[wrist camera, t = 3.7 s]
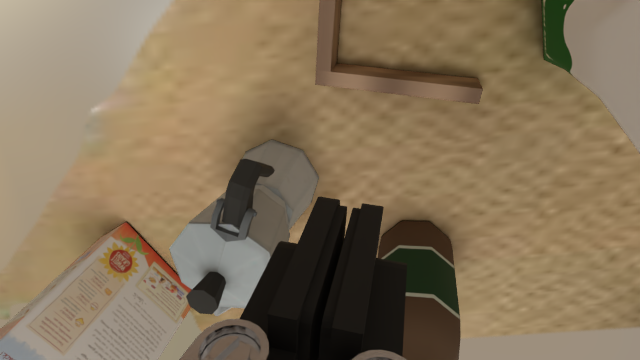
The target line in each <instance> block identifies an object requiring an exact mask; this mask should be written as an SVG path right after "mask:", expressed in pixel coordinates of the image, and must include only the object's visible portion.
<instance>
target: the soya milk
mask: <svg viewBox="0 0 640 360" xmlns="http://www.w3.org/2000/svg"><path fill="white" fill-rule="evenodd" d="M541 3H542V27H543V52H544V60H546V61H548V62H550V63H552V64H554V65H556V66H559V67H561V68H563V69H565V70H566V71H567V72H569V73H570V74H571V75H572V76H574V77H575V78H576V79H577V80H579V81H580V82H581V83H582V84H583V85H585V86H586V87H587V88H588V89H590V90H591V91H592V92H593V93H594V94H596V95H597V96H598V97H599V98H600V100H601V101H602V102H603V104H604V105H605V106H606V108H607V109H608V110H609V112H610V113H611V114H612V116H613V117H614V118H615V120H616V121H617V123H618V124H619V125H620V127H621V128H622V129H623V131H624V132H625V134H626V135H627V136H628V138H629V139H630V140H631V142H632V143H633V145H634V146H635V148H636V149H637V151H638V152H639V153H640V0H541Z"/></svg>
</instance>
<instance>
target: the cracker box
mask: <svg viewBox="0 0 640 360" xmlns="http://www.w3.org/2000/svg"><path fill="white" fill-rule="evenodd" d="M190 291H191V289H190V288H189V287H187V286H186V285H185V284H183V283H182V282H181V279H180V277H179V276H178V275H177V274H176V273H175V272H174V271H173V270H172V269H171V268H170V267H169V266H168V265H167V264H166V263H165V262H164V261H163V260H162V259H161V258H160V257H159V256H158V255H157V254H156V252H155V251H154V250H153V249H152V248H151V247H150V246H149V245H148V244H147V243H146V242H145V241H144V240H143V239H142V238H141V237H140V236H139V235H138V234H137V233H136V232H135V231H134V230H133V229H132V228H131V227H130V225H129V224H127V223H123V224H122V225H120V226H118V227H117V228H115V229H114V230H112V231H110V232H109V233H107V234H105V235H104V236H102V237H101V238H100V239H98V240H97V241H96V242H95V243H94V244H93V245H92V246H91V247H90V248H89V249H88V250H86V251H85V252H84V253H83V254H82V255H81V256H80V257H79V258H78V259H76V260H75V261H74V262H73V263H72V264H71V265H70V266H69V267H68V268H67V269H66V270H64V271H63V272H62V273H61V274H60V275H59V276H58V277H57V278H56V279H55V280H53V281H52V282H51V283H50V284H49V285H48V286H47V287H46V288H45V289H44V290H43V291H42V292H40V293H39V294H38V295H37V296H36V297H35V298H34V299H33V300H32V301H31V302H30V303H28V304H27V305H26V306H25V307H24V308H23V309H22V310H21V311H20V312H18V313H17V314H16V315H15V316H14V317H13V318H12V319H11V320H10V321H9V322H7V323H6V324H5V325H4V326H3V327H2V328H1V329H0V360H158V359H159V357H160V356H161V354H162V352H163V351H164V349H165V348H166V346H167V345H168V343H169V341H170V340H171V338H172V337H173V335H174V334H175V332H176V330H177V329H178V327H179V326H180V324H181V323H182V321H183V319H184V318H185V316H186V315H187V313H188V311H189V310H190V308H191V307H190V306H189V303H188V301H187V298H186V296H187V295H188V293H189V292H190Z"/></svg>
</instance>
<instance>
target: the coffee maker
mask: <svg viewBox="0 0 640 360" xmlns="http://www.w3.org/2000/svg"><path fill="white" fill-rule="evenodd" d="M318 179H319V176H318V174H317V173H316V171H315V169H314V168H313V166H312V164H311V163H310V161H309V159H308V158H307V156H306V155H305V153H304V151H303V150H301V149H298V148H295V147H292V146H289V145H286V144H284V143H281V142H278V141H275V140H272V139H271V140H269V141H267V142H265V143H263V144H261V145H259V146H257V147H255V148H253V149H251V150H249V151H246V153H245V155H244V157H243V159H241V160H240V162H239V164H238V166H237V167H236V169H235V171H234V173H233V175H232V177H231V179H230V181H229V183H228V187H227V190H226V192H225V193H224V194H222V195H221V196H220V197H219V198H218V199H216V200H215V201H214V202H213V203H212V204H210V205H209V206H208V207H207V208H206V209H204V210H203V211H202V212H201V213H200V214H198V215H197V216H196V217H195V218H194V219H192V220H191V221H190V222H189V223H188V224H187V226H186V227H185V228H184V230H183V231H182V232H181V234H180V235H179V236H178V238H177V239H176V240H175V242H174V243H173V244H172V246H171V247H170V248H169V250H170V253H171V255H172V258H173V261H174V263H175V266H176V269H177V271H178V274H179V277H180V279H181V282H182V283H183V284H185V285H186V286H187V287H189V288H190V289H192V290H191V291H190V292H189V293H188V295H187V296H186V298H187V301H188V303H189V306H190V307H192V308H193V309H195V310H196V311H198V312H199V313H203V314H213V313H214V315H215V316H219V315H220V314H222V313H224V312H225V311H227V310H229V309H230V308H232V307H233V308H245V307H246V305H247V303H248V302H249V300H250V298H251V296H252V294H253V292H254V290H255V288H256V286H257V284H258V282H259V280H260V278H261V276H262V274H263V272H264V270H265V268H266V266H267V264H268V262H269V260H270V258H271V256H272V254H273V252H274V250H275V248H276V246H277V244H278V243H279V242H280V241H284V242H288V241H289V236H290V233H289V230H290V228H291V227H292V226H293V225H294V223H295V222H296V221H297V220H298V218H299V217H300V216H301V215H302V213H303V212H304V211H305V210H306V208H307V207H308V206H309V205H310V203H311V202H312V198H313V195H314V192H315V189H316V186H317V182H318Z"/></svg>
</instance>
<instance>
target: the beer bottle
mask: <svg viewBox="0 0 640 360" xmlns="http://www.w3.org/2000/svg"><path fill="white" fill-rule="evenodd" d="M378 258H380V259H385V260H391V261H397V262H402V263H407V279H406V298H405V317H404V337H403V356H402V357H404V358H405V359H407V360H458V359H459V347H460V314H459V305H458V296H457V287H456V278H455V269H454V260H453V251H452V246H451V241H450V239H449V238H448V237H447V236H445V235H444V234H443V233H442V232H441V231H439V230H438V229H437V228H436V227H435V226H434V225H432V224H431V223H430V222H422V221H401V222H400V223H398V224H397V225H396V226H395V227H393V228H392V229H391V230H390V231H388V232H387V233H386V234H384V235H383V236H382V237H381V242H380V246H379V253H378Z"/></svg>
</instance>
